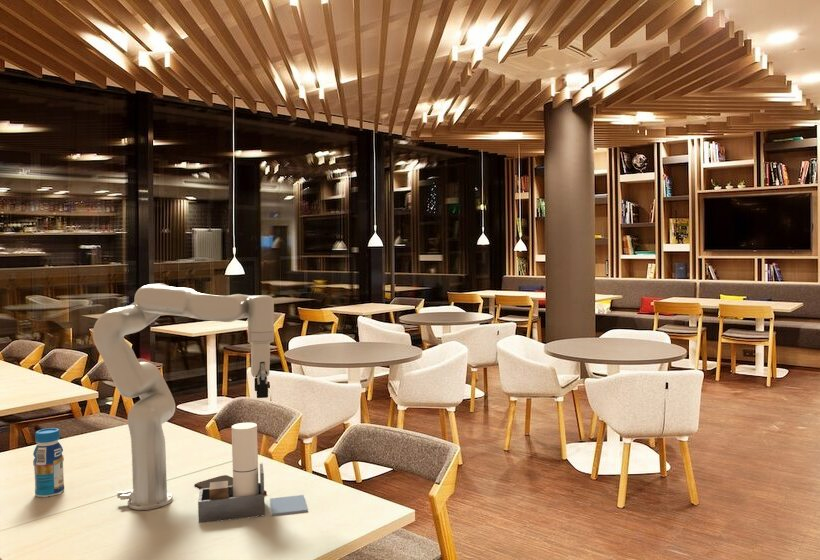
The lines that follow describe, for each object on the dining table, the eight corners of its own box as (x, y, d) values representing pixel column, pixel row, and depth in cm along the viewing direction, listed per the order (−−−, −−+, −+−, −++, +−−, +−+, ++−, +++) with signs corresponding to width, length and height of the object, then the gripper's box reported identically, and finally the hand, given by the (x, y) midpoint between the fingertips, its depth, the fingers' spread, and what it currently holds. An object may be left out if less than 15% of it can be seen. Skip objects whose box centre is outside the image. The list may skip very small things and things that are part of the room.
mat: (272, 515, 186) (272, 513, 186) (270, 500, 198) (270, 498, 198) (307, 511, 189) (307, 509, 189) (303, 496, 201) (303, 494, 201)
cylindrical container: (228, 513, 189) (226, 427, 187) (243, 504, 195) (241, 421, 194) (249, 517, 186) (247, 430, 185) (264, 507, 192) (261, 423, 191)
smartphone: (225, 473, 221) (268, 490, 203) (226, 478, 221) (268, 495, 203) (192, 483, 212) (233, 502, 195) (192, 488, 212) (233, 507, 195)
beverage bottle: (30, 493, 207) (28, 431, 206) (59, 486, 213) (56, 425, 212) (39, 500, 201) (37, 435, 200) (69, 492, 207) (66, 430, 207)
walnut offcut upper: (209, 503, 185) (209, 489, 185) (210, 496, 191) (210, 482, 190) (228, 501, 186) (227, 487, 186) (228, 494, 192) (227, 480, 192)
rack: (198, 523, 182) (197, 480, 182) (200, 508, 192) (199, 468, 192) (264, 515, 187) (263, 474, 186) (263, 502, 197) (262, 462, 196)
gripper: (246, 333, 201) (246, 388, 202) (249, 341, 185) (249, 401, 186) (271, 333, 204) (271, 387, 204) (276, 340, 187) (276, 399, 188)
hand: (261, 394), depth 195 cm, fingers open, 9 cm apart
